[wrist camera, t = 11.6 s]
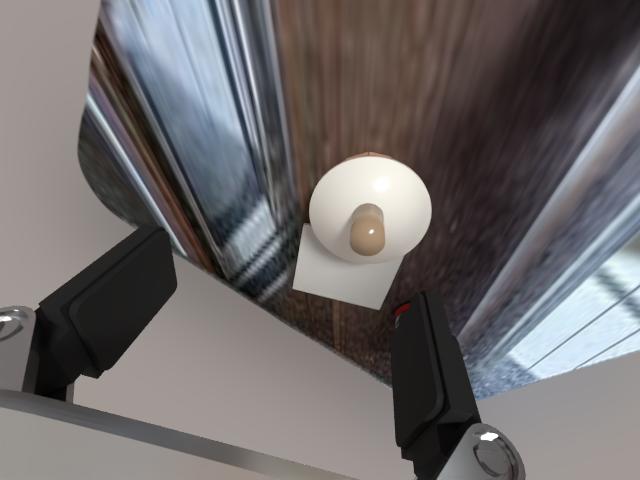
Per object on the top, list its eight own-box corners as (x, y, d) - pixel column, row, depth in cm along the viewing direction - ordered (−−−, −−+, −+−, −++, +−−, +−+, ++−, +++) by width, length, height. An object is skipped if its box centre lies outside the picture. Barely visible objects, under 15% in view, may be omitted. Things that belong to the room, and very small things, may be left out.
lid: (452, 172, 29) (468, 196, 24) (404, 270, 37) (409, 304, 32) (321, 141, 29) (311, 160, 24) (302, 246, 37) (292, 275, 32)
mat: (407, 247, 42) (407, 249, 41) (379, 308, 50) (379, 310, 50) (304, 222, 42) (303, 224, 42) (293, 286, 50) (292, 288, 50)
